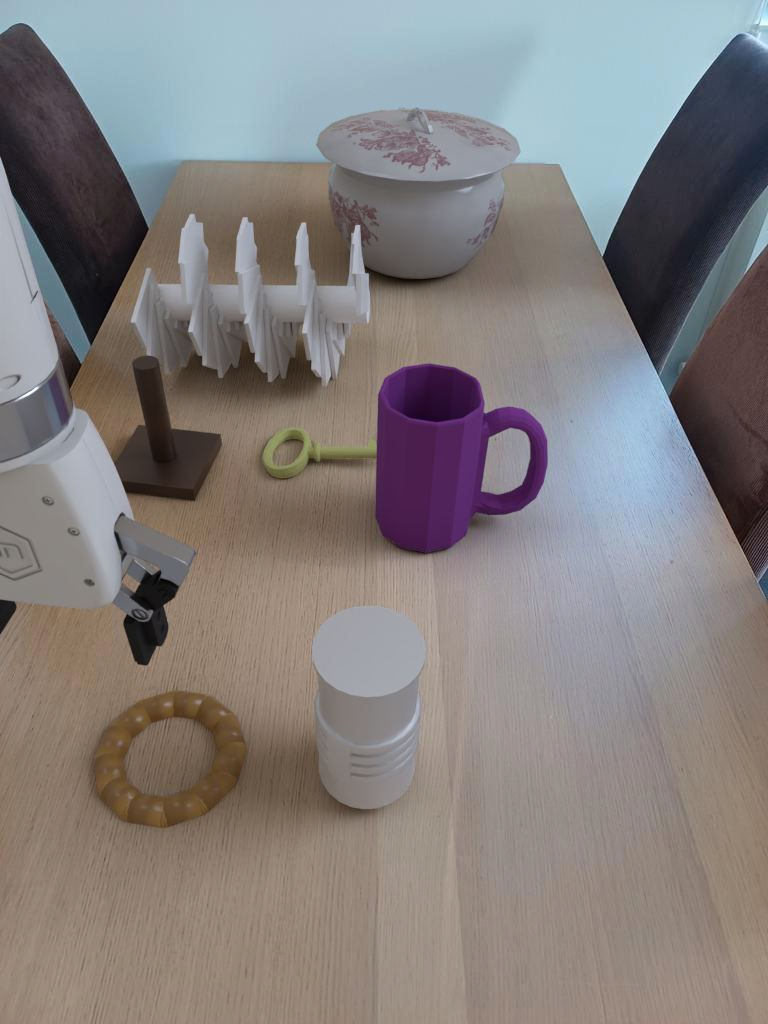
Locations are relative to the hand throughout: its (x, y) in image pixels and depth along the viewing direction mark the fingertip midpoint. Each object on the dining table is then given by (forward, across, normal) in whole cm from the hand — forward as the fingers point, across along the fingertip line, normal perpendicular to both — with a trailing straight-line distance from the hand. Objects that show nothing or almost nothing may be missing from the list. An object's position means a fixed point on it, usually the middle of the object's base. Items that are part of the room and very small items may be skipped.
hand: (75, 636), depth 49 cm
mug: (+14, +22, +29) cm, 39 cm away
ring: (+13, +4, 0) cm, 13 cm away
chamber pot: (+14, +11, +85) cm, 87 cm away
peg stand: (+14, -8, +32) cm, 36 cm away
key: (+14, +7, +36) cm, 39 cm away
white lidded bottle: (+14, +18, +1) cm, 23 cm away
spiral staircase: (+14, -3, +52) cm, 54 cm away
